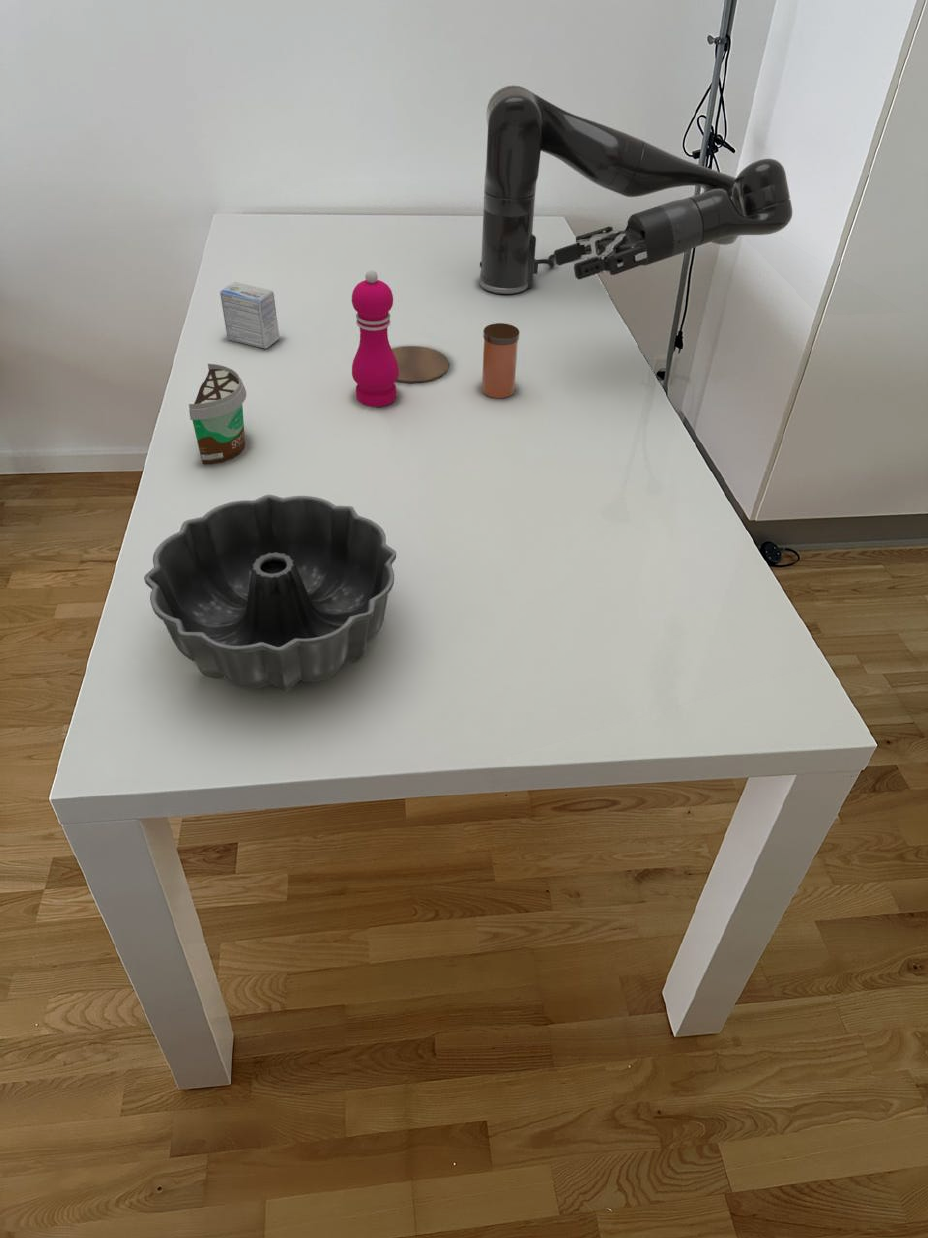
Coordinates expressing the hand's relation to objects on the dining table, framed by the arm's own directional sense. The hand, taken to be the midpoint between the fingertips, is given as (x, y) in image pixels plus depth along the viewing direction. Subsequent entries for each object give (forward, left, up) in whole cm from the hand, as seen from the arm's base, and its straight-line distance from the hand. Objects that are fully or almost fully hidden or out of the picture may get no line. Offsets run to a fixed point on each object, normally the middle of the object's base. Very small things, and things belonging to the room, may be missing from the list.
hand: (564, 265), depth 138 cm
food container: (+53, +4, -19) cm, 56 cm away
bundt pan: (+55, +44, -19) cm, 73 cm away
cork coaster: (+20, -11, -19) cm, 30 cm away
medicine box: (+43, -28, -19) cm, 55 cm away
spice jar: (+10, +1, -19) cm, 21 cm away
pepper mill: (+29, -3, -19) cm, 35 cm away
